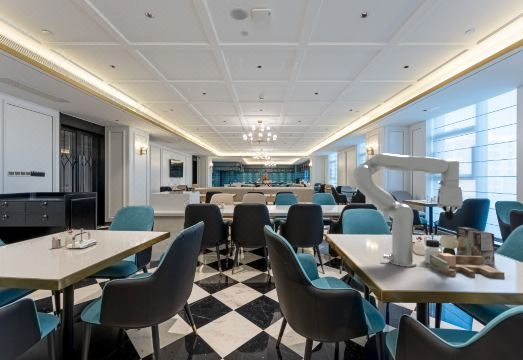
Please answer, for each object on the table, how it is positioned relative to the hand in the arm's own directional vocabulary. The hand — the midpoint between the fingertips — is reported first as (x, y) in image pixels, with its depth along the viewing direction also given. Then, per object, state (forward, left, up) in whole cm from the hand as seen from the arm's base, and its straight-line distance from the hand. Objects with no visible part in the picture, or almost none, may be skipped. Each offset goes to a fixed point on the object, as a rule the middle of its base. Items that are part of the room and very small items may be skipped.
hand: (448, 219), depth 132 cm
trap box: (+2, -9, -24) cm, 26 cm away
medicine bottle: (-5, +5, -24) cm, 25 cm away
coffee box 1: (+23, +23, -24) cm, 41 cm away
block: (-5, -7, -21) cm, 23 cm away
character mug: (+7, +12, -24) cm, 28 cm away
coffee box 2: (+22, +9, -24) cm, 34 cm away
